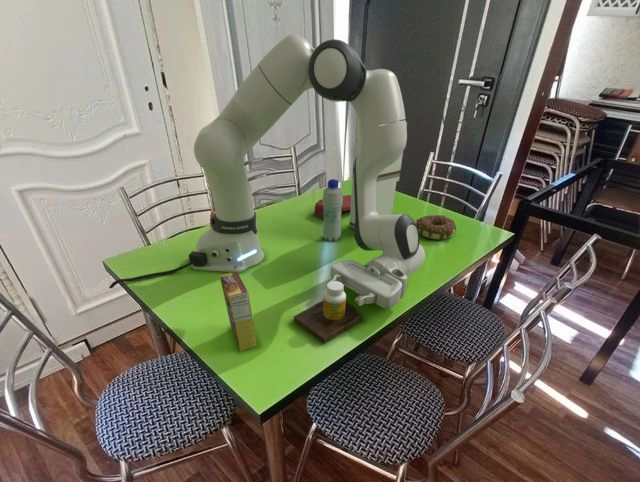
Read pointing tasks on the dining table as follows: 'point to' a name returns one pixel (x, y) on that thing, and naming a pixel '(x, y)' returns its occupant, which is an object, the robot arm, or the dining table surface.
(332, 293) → the supplement bottle
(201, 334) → the dining table surface
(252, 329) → the candy box
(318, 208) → the carton
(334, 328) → the holder
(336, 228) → the bottle
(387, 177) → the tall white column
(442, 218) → the donut
